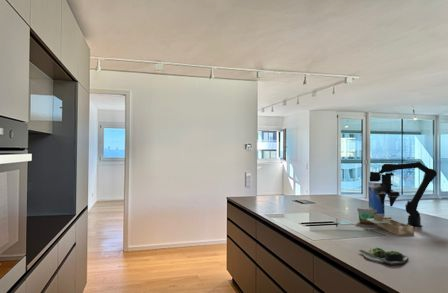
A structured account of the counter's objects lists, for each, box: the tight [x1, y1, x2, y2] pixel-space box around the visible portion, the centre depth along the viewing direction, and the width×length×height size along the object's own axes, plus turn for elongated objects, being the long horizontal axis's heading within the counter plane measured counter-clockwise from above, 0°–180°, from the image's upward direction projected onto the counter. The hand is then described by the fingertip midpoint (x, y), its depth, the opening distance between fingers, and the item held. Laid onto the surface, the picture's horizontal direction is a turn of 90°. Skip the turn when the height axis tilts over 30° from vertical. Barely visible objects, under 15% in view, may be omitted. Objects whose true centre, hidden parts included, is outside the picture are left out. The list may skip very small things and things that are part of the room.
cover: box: [366, 214, 390, 224], centre depth 191 cm, size 10×9×4 cm
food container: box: [356, 207, 377, 226], centre depth 204 cm, size 12×6×10 cm, turn 62°
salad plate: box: [358, 246, 409, 266], centre depth 139 cm, size 19×18×5 cm
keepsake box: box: [376, 218, 415, 236], centre depth 187 cm, size 10×20×4 cm, turn 6°
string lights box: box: [367, 180, 386, 217], centre depth 227 cm, size 13×8×26 cm, turn 171°
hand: (386, 205), depth 206 cm, fingers open, 9 cm apart
